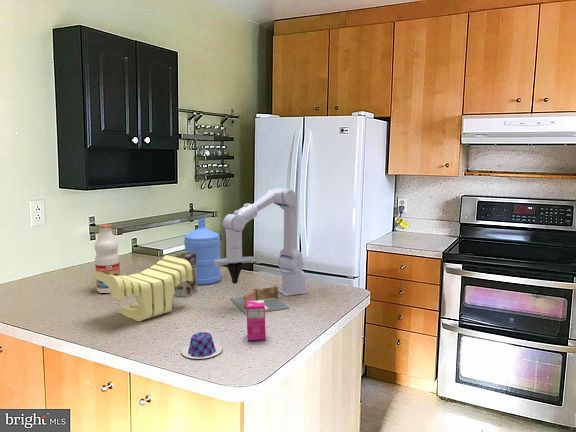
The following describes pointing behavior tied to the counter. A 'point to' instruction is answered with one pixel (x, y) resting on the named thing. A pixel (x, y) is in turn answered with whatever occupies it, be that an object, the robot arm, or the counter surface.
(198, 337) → the pudding
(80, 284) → the counter surface
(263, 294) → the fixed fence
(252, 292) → the swing panel
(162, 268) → the slatted curved stool
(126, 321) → the counter surface
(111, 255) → the fruit juice
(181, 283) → the coffee box
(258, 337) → the supplement box
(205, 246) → the water jug
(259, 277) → the counter surface
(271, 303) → the card
